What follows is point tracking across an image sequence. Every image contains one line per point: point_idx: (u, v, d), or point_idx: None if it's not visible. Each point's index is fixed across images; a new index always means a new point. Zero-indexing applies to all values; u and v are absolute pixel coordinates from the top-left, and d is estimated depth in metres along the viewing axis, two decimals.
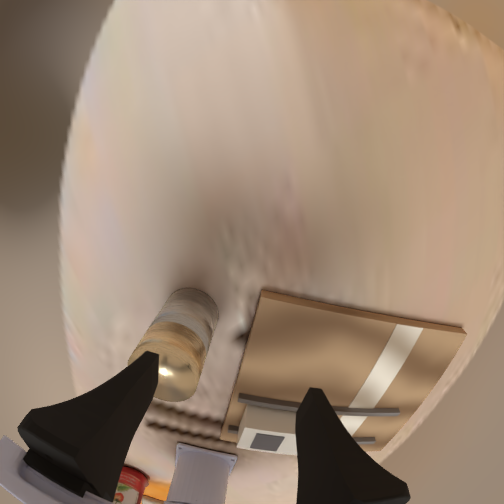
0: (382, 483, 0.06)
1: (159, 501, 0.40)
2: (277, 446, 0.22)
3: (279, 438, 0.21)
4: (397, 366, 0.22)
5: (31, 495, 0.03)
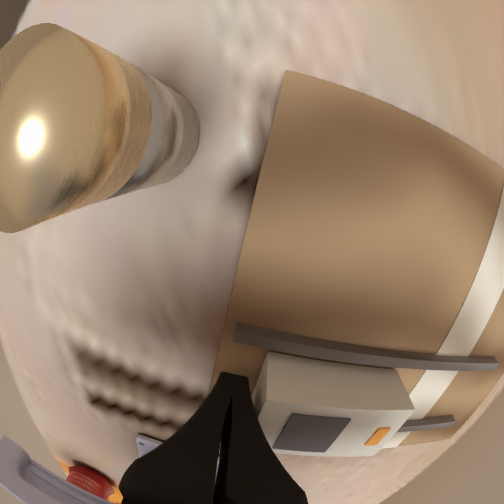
0: (273, 485, 0.06)
1: None
2: (331, 442, 0.10)
3: (339, 422, 0.10)
4: None
5: (31, 495, 0.03)
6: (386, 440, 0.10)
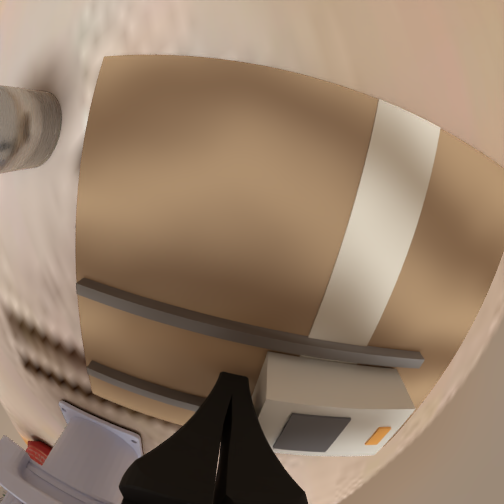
0: (272, 485, 0.06)
1: None
2: (331, 442, 0.10)
3: (339, 422, 0.10)
4: (407, 223, 0.10)
5: (31, 495, 0.03)
6: (387, 439, 0.10)
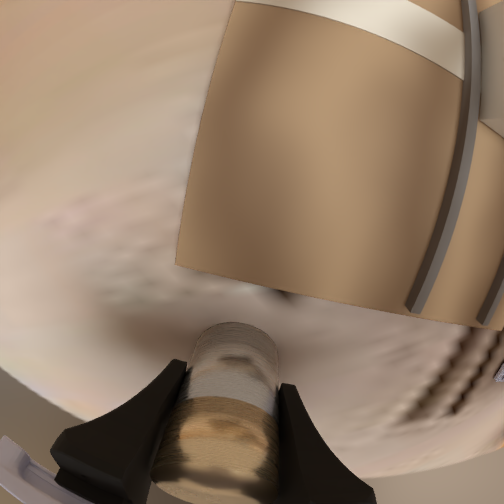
0: (346, 486, 0.06)
1: None
2: None
3: None
4: None
5: (31, 495, 0.03)
6: None
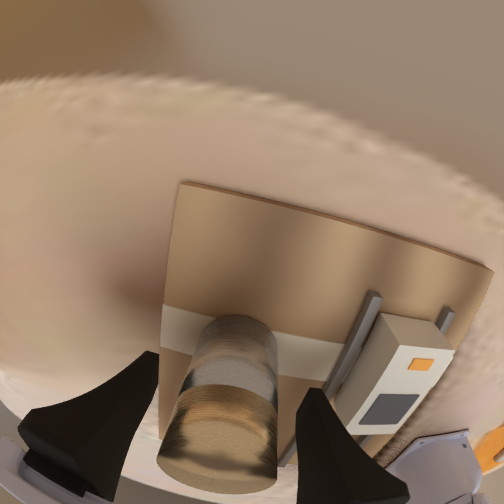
0: (382, 483, 0.06)
1: None
2: (406, 396, 0.12)
3: (381, 399, 0.12)
4: None
5: (31, 495, 0.03)
6: (435, 350, 0.11)
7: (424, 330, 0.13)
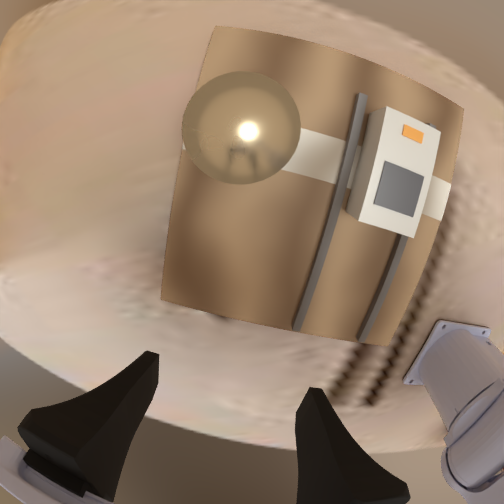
0: (382, 483, 0.06)
1: None
2: (411, 172, 0.14)
3: (388, 169, 0.14)
4: None
5: (31, 495, 0.03)
6: (421, 124, 0.13)
7: None
